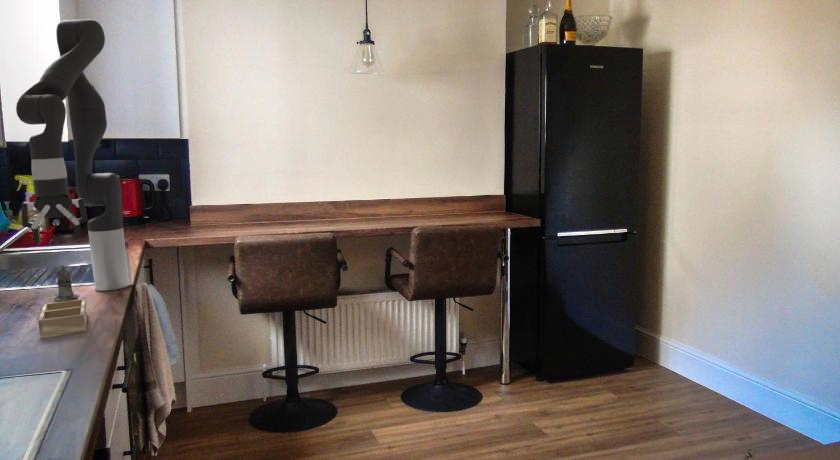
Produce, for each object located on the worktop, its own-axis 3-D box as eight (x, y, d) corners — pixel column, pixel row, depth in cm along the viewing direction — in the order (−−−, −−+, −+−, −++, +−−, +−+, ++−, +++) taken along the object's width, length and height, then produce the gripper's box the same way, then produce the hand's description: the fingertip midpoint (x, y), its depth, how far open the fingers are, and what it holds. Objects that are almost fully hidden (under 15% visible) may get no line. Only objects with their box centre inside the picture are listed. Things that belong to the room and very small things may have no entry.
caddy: (46, 319, 166) (44, 303, 166) (86, 314, 170) (85, 298, 170) (40, 338, 151) (38, 321, 150) (85, 331, 155) (83, 314, 154)
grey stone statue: (85, 309, 175) (80, 263, 173) (63, 315, 170) (57, 268, 168) (71, 307, 178) (66, 262, 176) (50, 312, 173) (44, 266, 171)
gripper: (15, 180, 162) (24, 247, 165) (81, 175, 168) (89, 240, 171) (18, 178, 169) (27, 242, 172) (82, 174, 175) (89, 236, 178)
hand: (58, 241), depth 171 cm, fingers open, 8 cm apart
